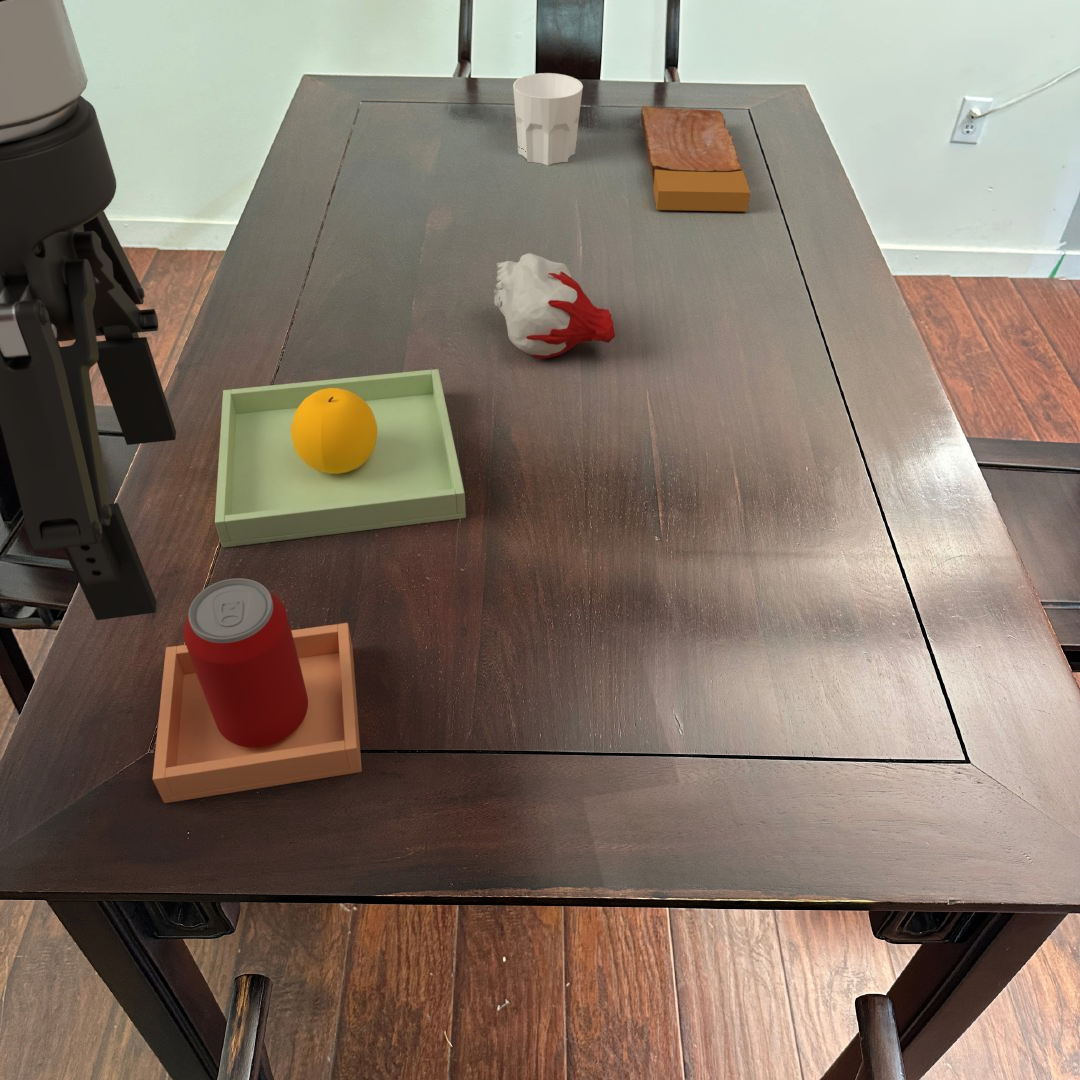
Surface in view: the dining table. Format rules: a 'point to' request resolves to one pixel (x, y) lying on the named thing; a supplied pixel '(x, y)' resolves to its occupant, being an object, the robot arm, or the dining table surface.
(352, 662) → the drink tray
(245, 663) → the beverage can
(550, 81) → the cup
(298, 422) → the orange
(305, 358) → the dining table surface
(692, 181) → the wooden board
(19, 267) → the robot arm
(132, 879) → the dining table surface
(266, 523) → the fruit tray
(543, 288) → the candle
